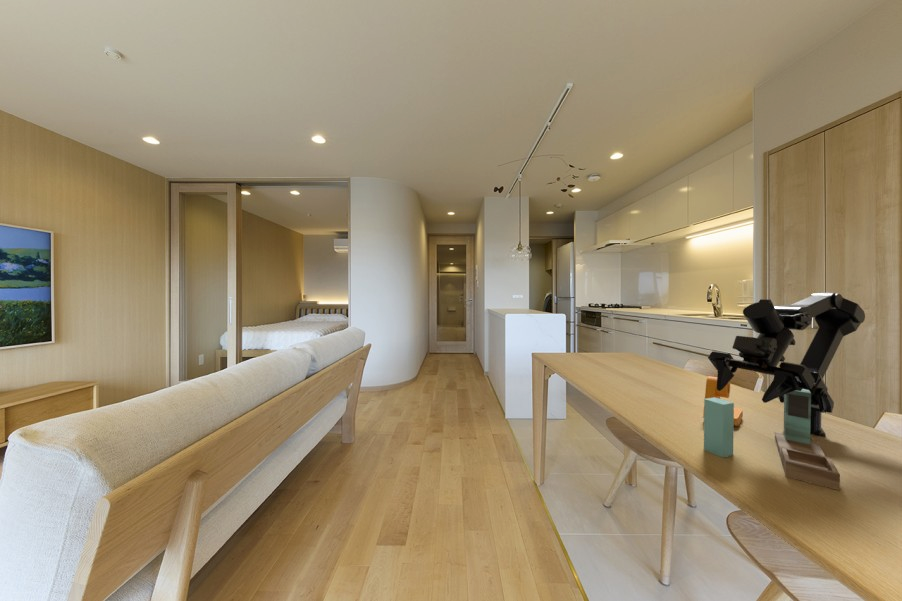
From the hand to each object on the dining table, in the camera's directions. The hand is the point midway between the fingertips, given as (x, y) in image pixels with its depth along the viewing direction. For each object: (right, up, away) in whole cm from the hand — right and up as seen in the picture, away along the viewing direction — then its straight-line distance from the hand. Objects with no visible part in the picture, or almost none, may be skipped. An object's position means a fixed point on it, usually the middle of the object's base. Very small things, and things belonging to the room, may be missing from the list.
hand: (739, 395), depth 76 cm
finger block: (-7, -13, -2) cm, 14 cm away
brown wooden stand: (+8, -13, -6) cm, 16 cm away
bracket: (+10, -12, +17) cm, 23 cm away
